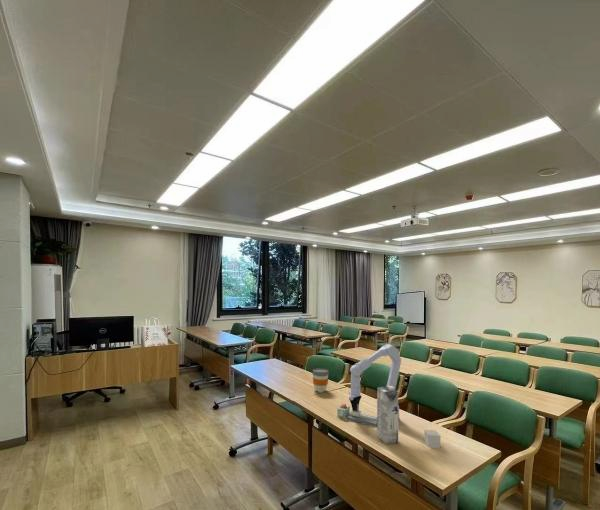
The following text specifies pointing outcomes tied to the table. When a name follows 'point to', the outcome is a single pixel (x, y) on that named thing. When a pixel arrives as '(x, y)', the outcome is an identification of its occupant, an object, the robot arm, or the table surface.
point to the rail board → (363, 419)
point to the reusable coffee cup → (320, 379)
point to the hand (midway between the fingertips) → (355, 409)
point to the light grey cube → (432, 439)
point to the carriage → (357, 412)
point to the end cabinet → (343, 411)
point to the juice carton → (387, 414)
